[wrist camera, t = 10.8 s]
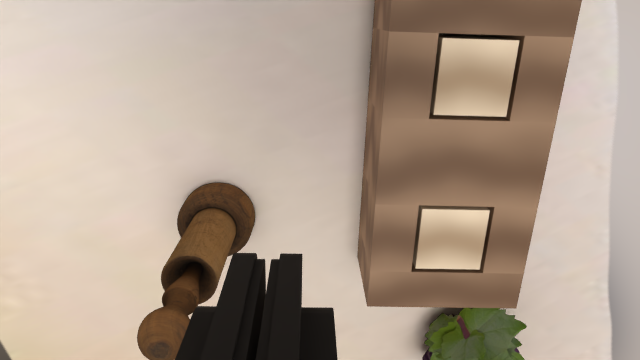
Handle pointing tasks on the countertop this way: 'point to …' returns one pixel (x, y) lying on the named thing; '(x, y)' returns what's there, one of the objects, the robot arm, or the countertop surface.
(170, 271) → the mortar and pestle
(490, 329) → the fruit
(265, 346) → the robot arm
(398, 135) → the walnut block
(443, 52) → the near peg
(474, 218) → the far peg
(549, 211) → the countertop surface
